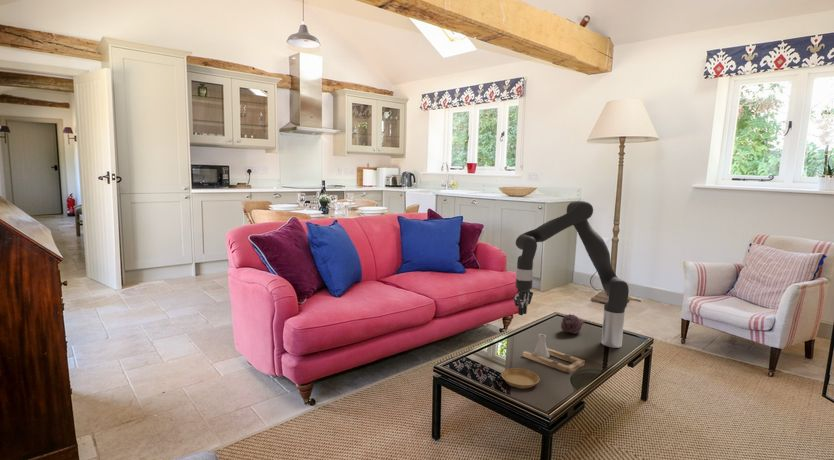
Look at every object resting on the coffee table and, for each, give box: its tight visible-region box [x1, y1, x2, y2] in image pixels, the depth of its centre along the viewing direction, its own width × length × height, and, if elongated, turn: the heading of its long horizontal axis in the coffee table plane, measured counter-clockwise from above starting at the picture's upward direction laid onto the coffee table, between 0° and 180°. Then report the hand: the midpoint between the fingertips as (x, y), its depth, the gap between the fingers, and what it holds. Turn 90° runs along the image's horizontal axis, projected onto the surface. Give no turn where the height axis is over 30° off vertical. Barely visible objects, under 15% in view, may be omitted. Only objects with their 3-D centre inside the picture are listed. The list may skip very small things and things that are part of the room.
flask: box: [532, 333, 551, 359], centre depth 202 cm, size 7×7×10 cm
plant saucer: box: [501, 367, 540, 389], centre depth 177 cm, size 15×15×3 cm
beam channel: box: [522, 347, 586, 374], centre depth 198 cm, size 13×23×2 cm, turn 44°
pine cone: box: [560, 314, 585, 335], centre depth 233 cm, size 18×10×10 cm, turn 128°
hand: (522, 314), depth 208 cm, fingers closed
